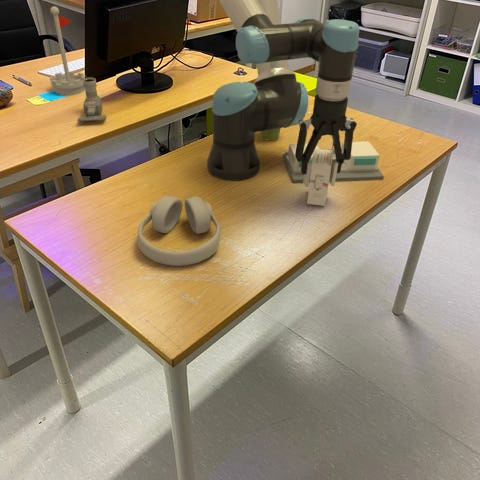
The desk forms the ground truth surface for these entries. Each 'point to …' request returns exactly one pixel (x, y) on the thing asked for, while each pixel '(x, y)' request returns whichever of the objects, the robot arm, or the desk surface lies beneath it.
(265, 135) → the plant pot
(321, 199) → the ink cartridge box
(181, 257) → the headphones
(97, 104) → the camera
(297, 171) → the rail panel
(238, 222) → the desk surface
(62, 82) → the flag stand
